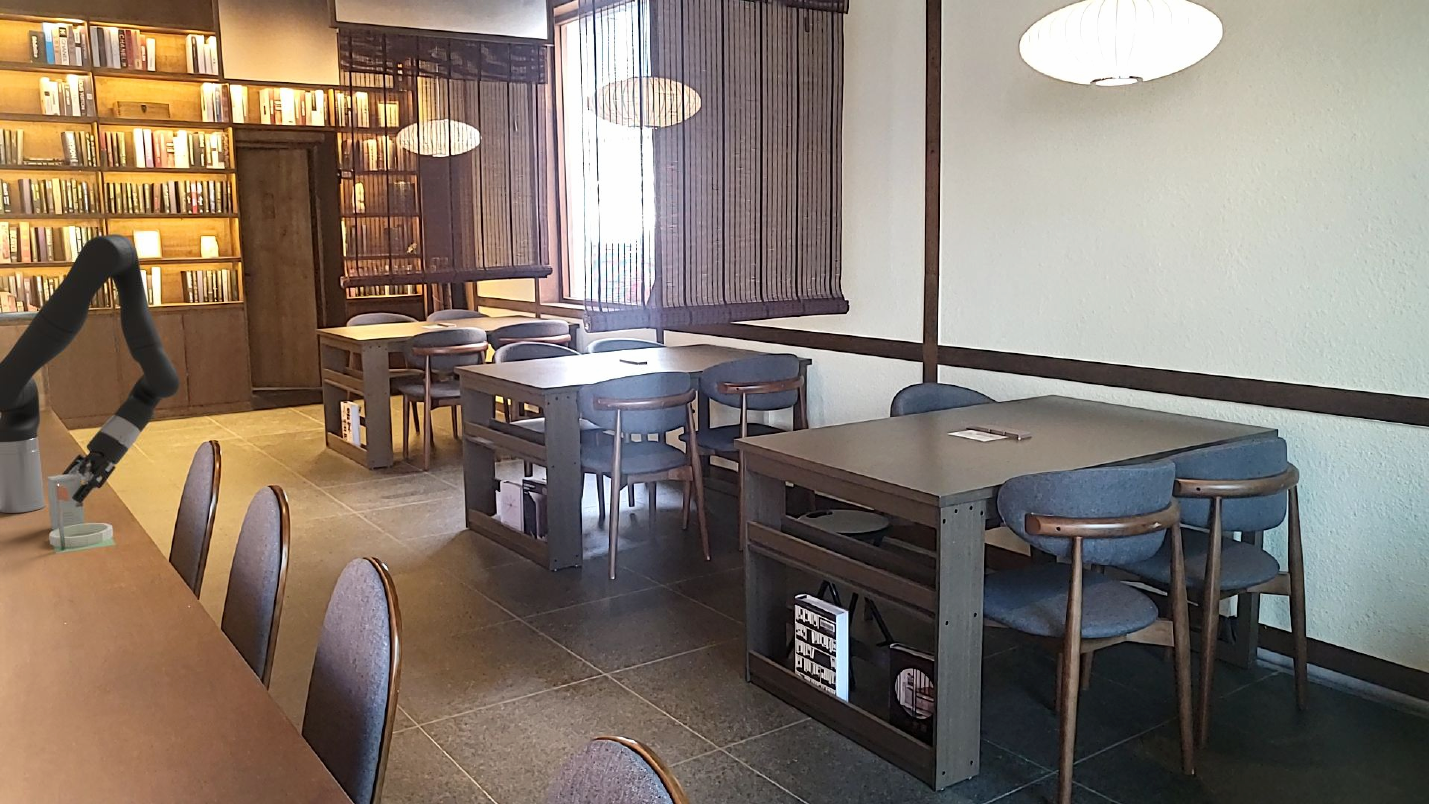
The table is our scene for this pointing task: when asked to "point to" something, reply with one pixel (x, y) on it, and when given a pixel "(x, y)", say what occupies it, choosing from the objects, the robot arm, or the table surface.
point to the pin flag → (61, 495)
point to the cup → (99, 530)
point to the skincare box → (70, 509)
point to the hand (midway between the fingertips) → (67, 498)
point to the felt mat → (96, 545)
